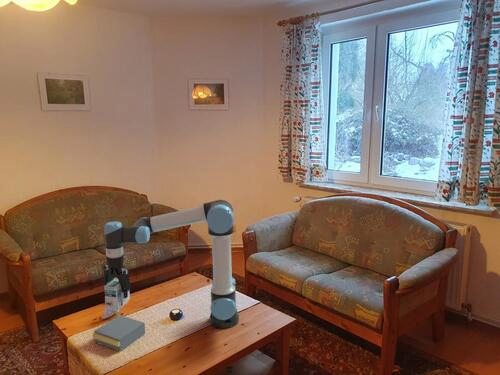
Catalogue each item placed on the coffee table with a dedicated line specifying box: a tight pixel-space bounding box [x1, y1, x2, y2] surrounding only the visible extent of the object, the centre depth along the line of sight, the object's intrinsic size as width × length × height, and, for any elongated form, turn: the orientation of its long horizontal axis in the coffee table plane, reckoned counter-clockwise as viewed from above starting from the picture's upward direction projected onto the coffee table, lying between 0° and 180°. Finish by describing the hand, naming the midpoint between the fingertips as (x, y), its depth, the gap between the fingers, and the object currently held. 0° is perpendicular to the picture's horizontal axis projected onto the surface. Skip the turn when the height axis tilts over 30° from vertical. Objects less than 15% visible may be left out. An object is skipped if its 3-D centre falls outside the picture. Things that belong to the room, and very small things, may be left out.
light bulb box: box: [103, 276, 131, 310], centre depth 176 cm, size 11×7×11 cm, turn 168°
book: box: [92, 314, 146, 352], centre depth 179 cm, size 16×17×6 cm
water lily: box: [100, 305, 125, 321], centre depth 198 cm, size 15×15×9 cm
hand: (118, 302), depth 177 cm, fingers closed on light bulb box, 8 cm apart
